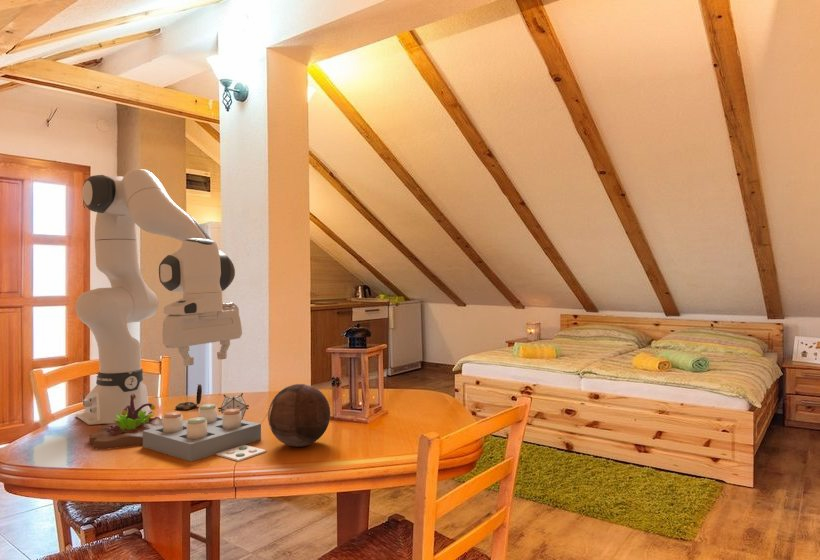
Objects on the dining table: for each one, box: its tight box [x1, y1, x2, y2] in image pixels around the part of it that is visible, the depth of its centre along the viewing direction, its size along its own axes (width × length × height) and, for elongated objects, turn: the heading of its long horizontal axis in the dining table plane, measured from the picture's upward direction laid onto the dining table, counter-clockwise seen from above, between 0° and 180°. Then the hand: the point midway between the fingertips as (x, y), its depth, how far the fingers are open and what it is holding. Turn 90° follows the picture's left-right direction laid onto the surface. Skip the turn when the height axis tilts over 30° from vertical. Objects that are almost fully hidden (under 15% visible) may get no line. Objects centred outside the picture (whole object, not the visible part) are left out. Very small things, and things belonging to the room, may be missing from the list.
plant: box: [88, 394, 163, 450], centre depth 147 cm, size 20×20×11 cm
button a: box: [162, 411, 184, 434], centre depth 139 cm, size 5×5×6 cm
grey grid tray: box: [142, 414, 262, 462], centre depth 140 cm, size 20×20×4 cm
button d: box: [221, 409, 242, 430], centre depth 141 cm, size 5×5×6 cm
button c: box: [186, 416, 207, 441], centre depth 133 cm, size 5×5×6 cm
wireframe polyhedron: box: [217, 392, 250, 420], centre depth 159 cm, size 9×8×10 cm
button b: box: [198, 403, 218, 424], centre depth 147 cm, size 5×5×6 cm
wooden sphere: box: [267, 383, 331, 448], centre depth 137 cm, size 15×15×15 cm
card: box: [216, 444, 267, 462], centre depth 131 cm, size 8×8×1 cm
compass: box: [175, 384, 203, 411], centre depth 177 cm, size 8×8×7 cm
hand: (206, 362), depth 134 cm, fingers open, 8 cm apart
